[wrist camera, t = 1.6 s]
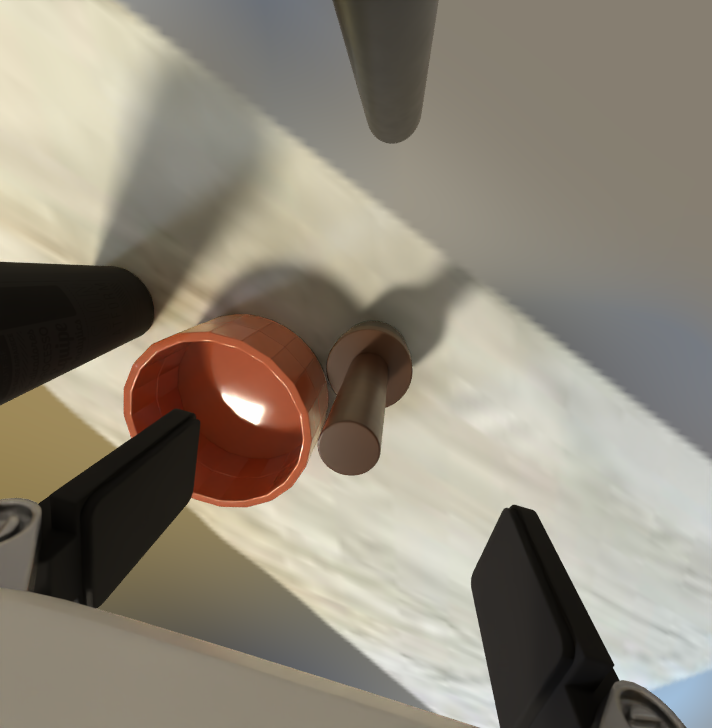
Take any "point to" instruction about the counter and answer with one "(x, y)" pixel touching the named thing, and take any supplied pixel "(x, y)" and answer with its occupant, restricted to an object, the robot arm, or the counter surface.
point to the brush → (362, 394)
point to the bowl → (235, 403)
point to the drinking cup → (64, 319)
